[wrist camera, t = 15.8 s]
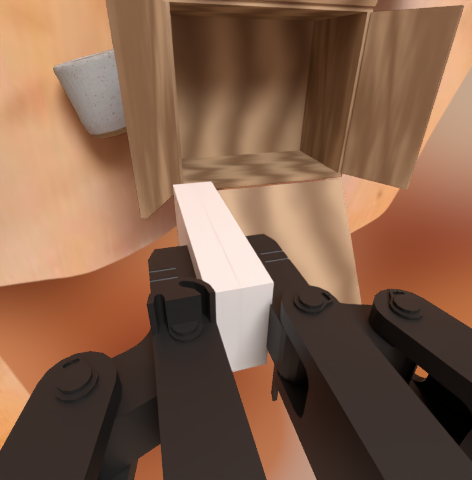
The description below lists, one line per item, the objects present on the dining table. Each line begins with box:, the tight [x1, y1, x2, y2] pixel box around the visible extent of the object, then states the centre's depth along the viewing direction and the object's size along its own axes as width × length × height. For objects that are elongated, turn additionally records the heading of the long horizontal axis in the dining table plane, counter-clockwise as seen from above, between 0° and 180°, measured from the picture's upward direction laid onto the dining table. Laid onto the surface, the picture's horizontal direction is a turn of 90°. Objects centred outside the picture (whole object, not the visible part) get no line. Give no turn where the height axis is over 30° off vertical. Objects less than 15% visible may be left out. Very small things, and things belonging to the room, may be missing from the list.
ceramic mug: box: [53, 49, 127, 138], centre depth 36 cm, size 11×8×8 cm
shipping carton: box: [106, 0, 464, 219], centre depth 34 cm, size 30×26×19 cm
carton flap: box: [217, 179, 361, 304], centre depth 38 cm, size 20×17×1 cm
